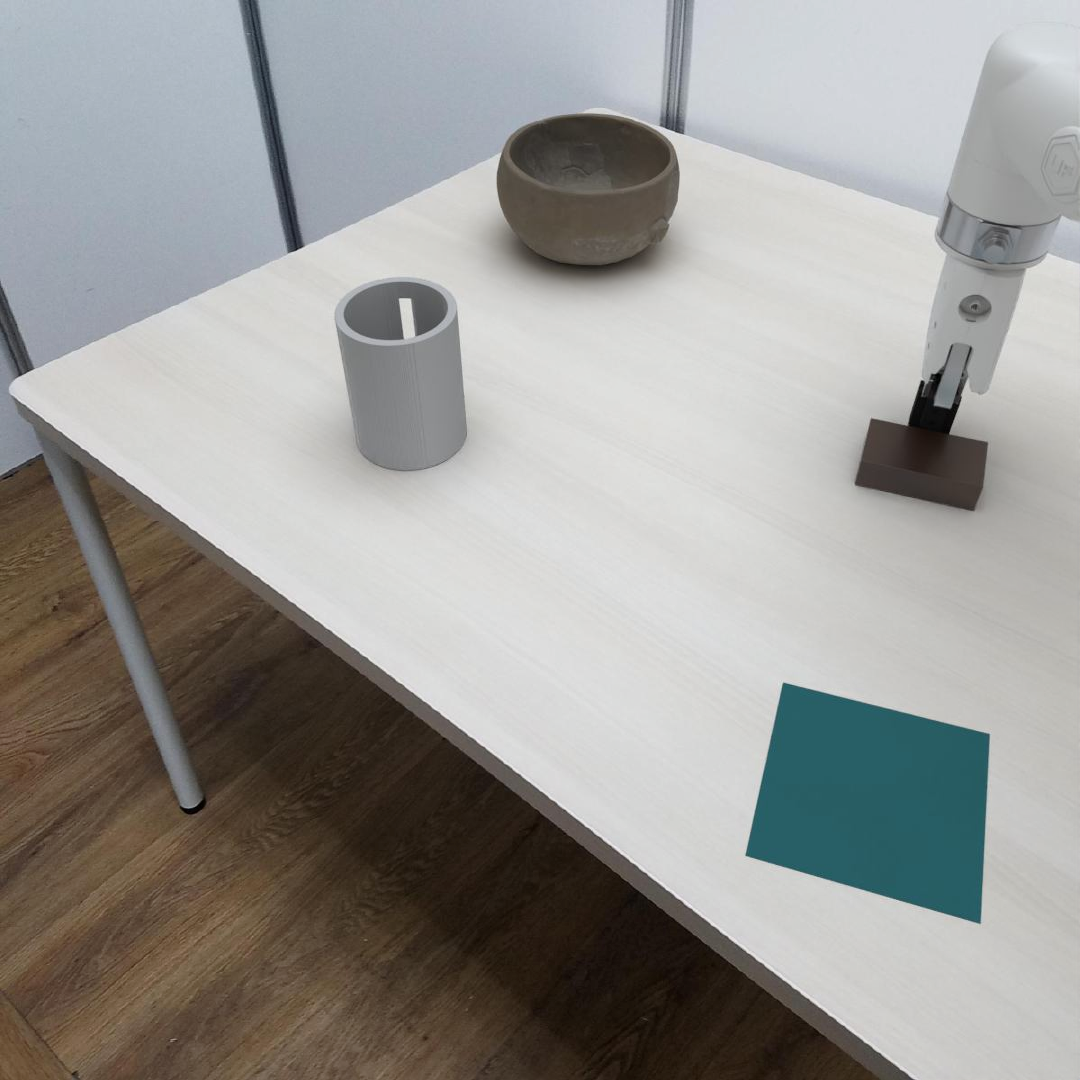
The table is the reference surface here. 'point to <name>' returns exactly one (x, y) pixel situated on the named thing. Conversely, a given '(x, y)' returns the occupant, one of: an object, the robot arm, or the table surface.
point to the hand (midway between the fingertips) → (927, 428)
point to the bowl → (588, 187)
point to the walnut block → (923, 464)
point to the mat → (875, 801)
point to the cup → (403, 372)
